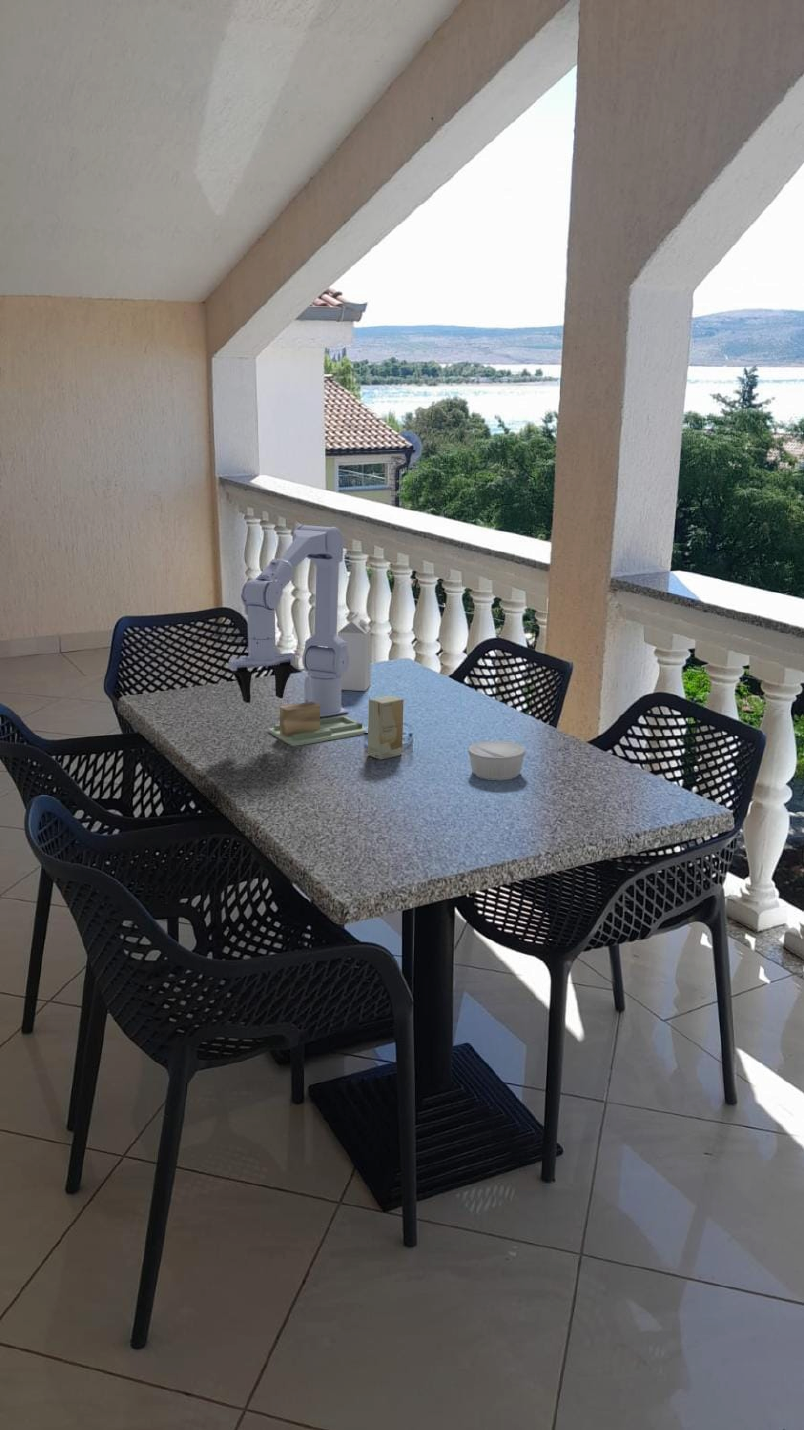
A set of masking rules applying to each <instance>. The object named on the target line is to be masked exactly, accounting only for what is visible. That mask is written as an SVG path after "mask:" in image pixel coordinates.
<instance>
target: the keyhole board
mask: <svg viewBox="0 0 804 1430" xmlns="http://www.w3.org/2000/svg"><path fill="white" fill-rule="evenodd" d="M366 729H368V728H366V727H365V726H363V723H362V722H360V721H358V720H356V719H354V718H352V717H350V716H347V715H346V714H344V715H343V714H341V715H337V716H336V715H335V716H330V717H323V718H320V730H318V731H313V732H307V733H301V734H295V735H292V736H291V737H286V736H285V735H283V734H281V733H280V723H277V724H273V727H270V728H268V729H267V732H268V733H269V734H270V735H272V736H275V737H276V738H277V739H279V740H281V741H282V742H284V743H286V744H288V745H290V746H291V747H298V746H303V745H309V744H314V743H320V742H327V741H331V740H337V739H338V740H339V739H345V738H350V737H354V736H355V737H356V736H361V735H364V734H363V733H364V732H365V731H366Z"/></svg>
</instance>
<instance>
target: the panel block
mask: <svg viewBox="0 0 804 1430" xmlns="http://www.w3.org/2000/svg"><path fill="white" fill-rule="evenodd" d="M320 719H321V717H320V705H318V704H316V703H314V702H306V703H304V702H301V703H294V704H289V705H288V704H287V705H281V706H279V724H280V733H281V734H283V735H285V736H286V737H291V736H292V735H295V734H301V733H307V732H313V731H318V730H320Z"/></svg>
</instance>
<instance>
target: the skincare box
mask: <svg viewBox="0 0 804 1430" xmlns="http://www.w3.org/2000/svg"><path fill="white" fill-rule="evenodd" d="M367 724H368V726H367V727H368V728H367V729H368V734H367V755H368V756H370V757H373V758H375V759H377V760H381V761H382V760H385V759H390V758H394V757H397V756H402V755H403V735H404V732H403V731H404V729H403V728H404V698H401V697H398V696H394V695H391V694H390V695H385V696H379V697H375V698H374V697H373V698H369V699H368V723H367Z"/></svg>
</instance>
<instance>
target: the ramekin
mask: <svg viewBox="0 0 804 1430" xmlns="http://www.w3.org/2000/svg"><path fill="white" fill-rule="evenodd" d="M468 755H469V759H470V766H471V770H472V772H473V774H474V776H476V777H478V778H479V777H480V779H482V780H488V781H493V782H494V781H495V780H497V782H502V781H503V782H504V781H509V780H512V779H513V780H514V779H515V778H517V777H518V776H519V775H520V774H521V771H522V769H523V768H522V766H523V763H524V757H525V755H526V748H525V747H524V746H522V745H520V744H518V743H515V742H511V741H507V740H486V741H480V742H475V743H473V744H471V745H470V746H469V747H468Z"/></svg>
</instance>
